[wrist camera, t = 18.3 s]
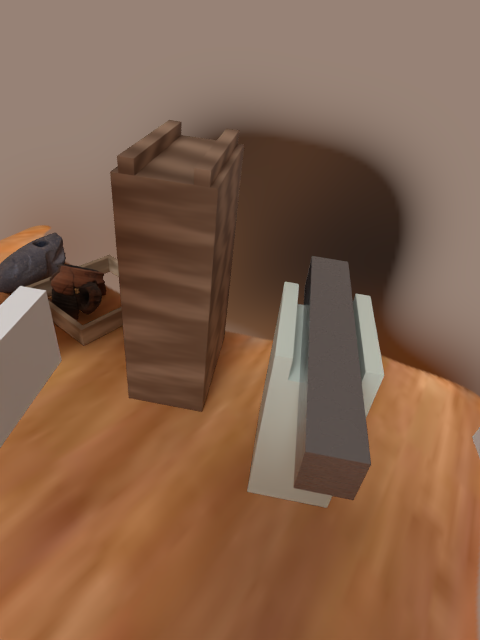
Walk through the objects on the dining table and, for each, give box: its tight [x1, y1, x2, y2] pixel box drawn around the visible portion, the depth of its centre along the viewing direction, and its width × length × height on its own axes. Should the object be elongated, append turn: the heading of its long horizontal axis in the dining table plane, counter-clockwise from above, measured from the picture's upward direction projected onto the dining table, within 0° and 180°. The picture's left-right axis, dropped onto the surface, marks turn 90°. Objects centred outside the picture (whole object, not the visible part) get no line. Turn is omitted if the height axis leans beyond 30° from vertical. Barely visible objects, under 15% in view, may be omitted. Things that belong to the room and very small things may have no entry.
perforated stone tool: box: [0, 233, 66, 293], centre depth 73 cm, size 15×5×7 cm, turn 151°
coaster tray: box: [25, 255, 123, 346], centre depth 71 cm, size 16×17×3 cm
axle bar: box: [294, 256, 371, 500], centre depth 37 cm, size 26×4×4 cm, turn 171°
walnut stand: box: [110, 120, 244, 412], centre depth 53 cm, size 16×10×32 cm, turn 171°
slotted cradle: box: [247, 282, 384, 508], centre depth 45 cm, size 12×9×20 cm
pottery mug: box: [48, 264, 106, 320], centre depth 70 cm, size 12×10×8 cm
